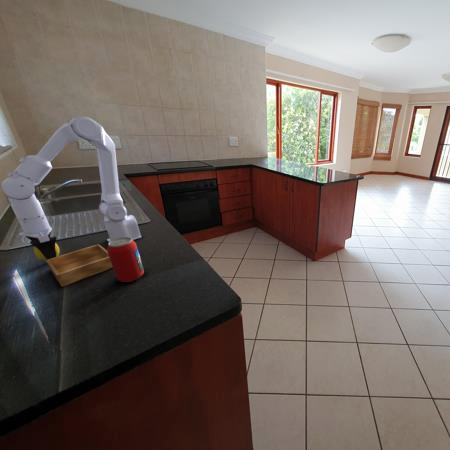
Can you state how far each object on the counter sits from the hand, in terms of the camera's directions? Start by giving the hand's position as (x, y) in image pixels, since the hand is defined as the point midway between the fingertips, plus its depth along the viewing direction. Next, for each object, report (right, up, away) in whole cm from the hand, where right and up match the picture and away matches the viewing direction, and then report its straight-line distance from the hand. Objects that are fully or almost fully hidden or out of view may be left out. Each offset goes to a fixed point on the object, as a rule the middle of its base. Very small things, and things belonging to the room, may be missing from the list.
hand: (49, 255), depth 78 cm
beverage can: (+32, -6, -7) cm, 33 cm away
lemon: (0, -2, +1) cm, 2 cm away
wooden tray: (+14, -4, -3) cm, 15 cm away
